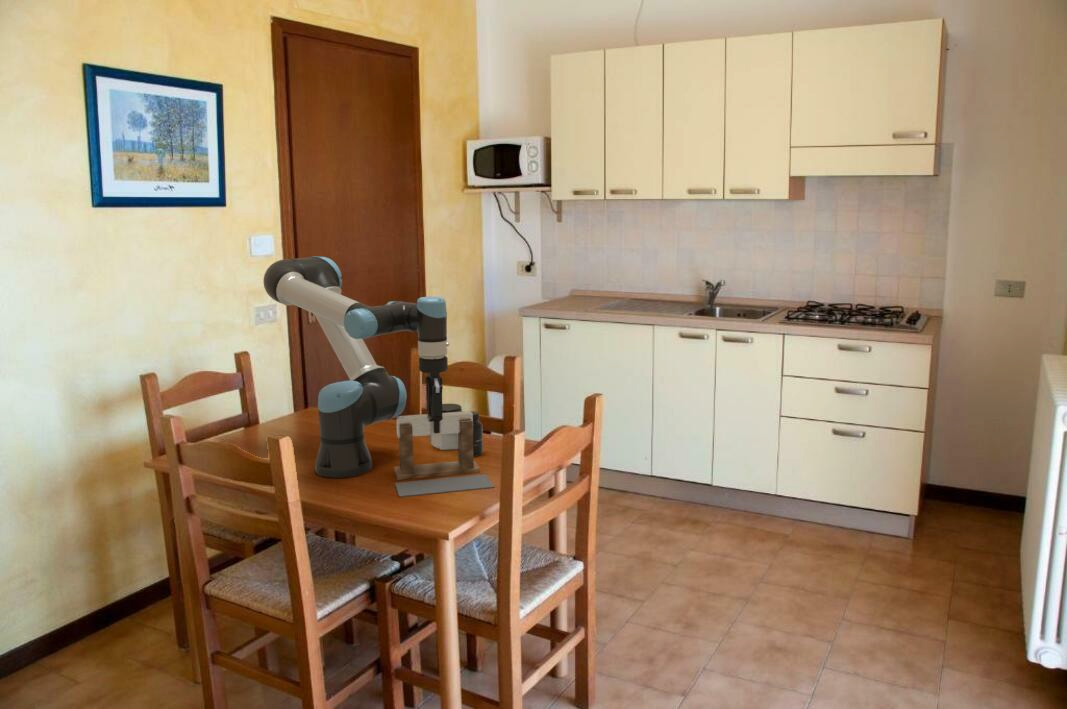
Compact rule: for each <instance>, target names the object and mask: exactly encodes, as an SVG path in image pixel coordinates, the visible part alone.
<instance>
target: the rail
mask: <svg viewBox="0 0 1067 709" xmlns="http://www.w3.org/2000/svg"><path fill="white" fill-rule="evenodd" d="M471 411H472V410H465V411H463V410H462V412H449V413H442V417H443V419H442V420H441V434H451V433H461V421H467V420H472V421H473V413H472V412H471ZM395 418H396V419H395V420H396V421H395V422H396V435H397V438H398V439H399V438H400V437H401V432H400V426H404V425H412V430H413V437H423V436H425V437H426V436H429V435H431V422H429V419H431V414H428V413H424V414H423V413H422V414H408V415H398V416H396V417H395Z"/></svg>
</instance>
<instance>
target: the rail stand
mask: <svg viewBox="0 0 1067 709" xmlns="http://www.w3.org/2000/svg"><path fill="white" fill-rule="evenodd" d="M400 432H401V437H400V438H398V450H399V451H398V453H399V455H398V456H399V466H394V467H393V470H394V474H395V476H396V480H398V481H401V480H412V479H422V478H423V479H424V478H430V477H431V478H433V477H444V476H451V475H452V476H453V475H454V476H455V475H463V474H464V475H466V474H472V473H480V472H481V468H480V466H479V465H478V463H477V462H476V461H475V459H474V456H473V421H472V420H467V421H461V433H458V449H457V451H458V452H457V453H458V454H457V460H456V461H446V462H445V461H444V462H434V463H422V464H414V463H415V462H414V460H415V459H414V458H415V457H414V436H413V430H412V425H404V426H400Z"/></svg>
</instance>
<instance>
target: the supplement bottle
mask: <svg viewBox="0 0 1067 709" xmlns="http://www.w3.org/2000/svg"><path fill="white" fill-rule="evenodd" d="M470 411H471V412H472V413H473V457H476V456H477V455H478V456H480V454H481V453H482V454H483V452H484V446H483V445H484V440H483V437H484V435H483V434H484V432H483V431H484V430H483V424H482V422H481V421H479V420H480V412H478V411H475V410H474V411H472V410H470ZM482 454H481V455H482Z"/></svg>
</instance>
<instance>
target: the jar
mask: <svg viewBox="0 0 1067 709" xmlns="http://www.w3.org/2000/svg"><path fill="white" fill-rule="evenodd" d="M449 412H463V410H462V406H461V404H457V403H442V413H449ZM432 446H433V448H436V449H438V448H439V449H438V450H441V451H448V450H449V451H451V450H458V433H451V434H442V444H436V445H432Z"/></svg>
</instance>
